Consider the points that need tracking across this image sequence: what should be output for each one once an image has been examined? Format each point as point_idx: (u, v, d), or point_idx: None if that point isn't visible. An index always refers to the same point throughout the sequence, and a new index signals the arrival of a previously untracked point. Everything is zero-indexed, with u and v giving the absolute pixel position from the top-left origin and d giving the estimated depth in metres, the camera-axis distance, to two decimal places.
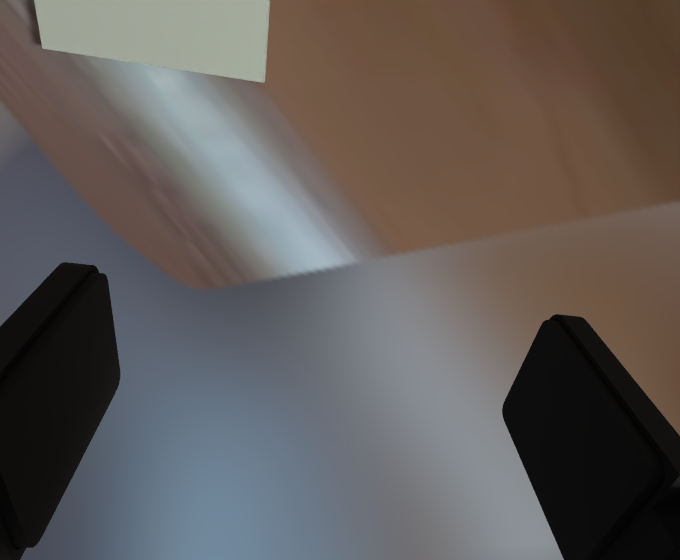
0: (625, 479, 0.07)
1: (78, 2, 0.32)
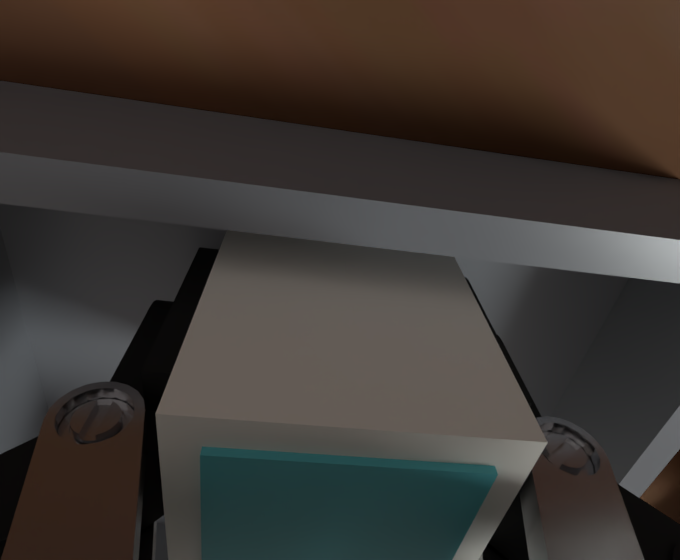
0: None
1: None
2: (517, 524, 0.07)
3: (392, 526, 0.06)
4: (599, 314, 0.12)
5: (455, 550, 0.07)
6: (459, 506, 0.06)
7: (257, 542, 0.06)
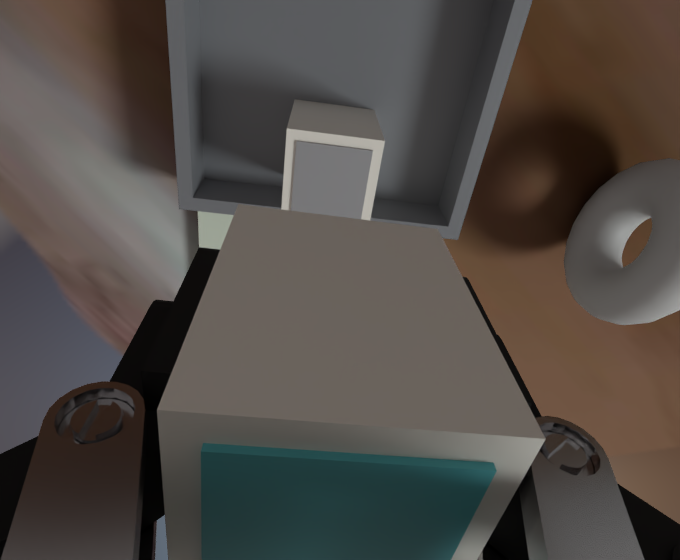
0: None
1: None
2: (517, 524, 0.07)
3: (392, 524, 0.06)
4: (485, 14, 0.24)
5: (454, 548, 0.07)
6: (458, 503, 0.06)
7: (257, 540, 0.06)
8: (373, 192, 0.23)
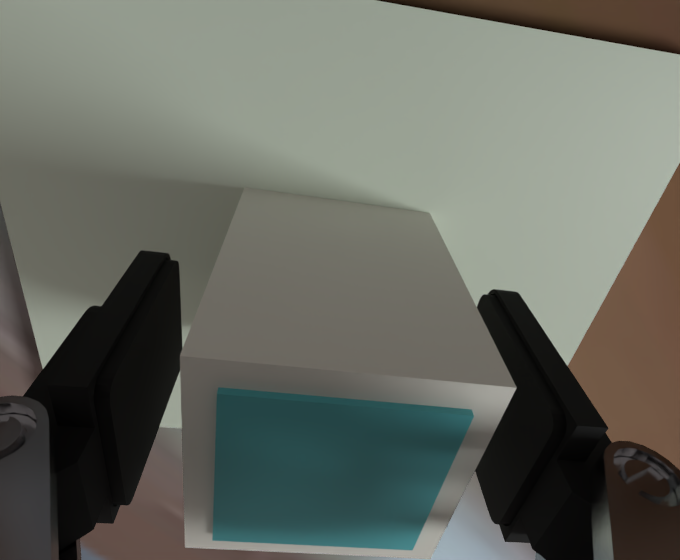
0: (535, 434, 0.08)
1: None
2: (593, 553, 0.07)
3: (382, 465, 0.07)
4: None
5: (438, 490, 0.07)
6: (441, 447, 0.07)
7: (263, 480, 0.07)
8: None
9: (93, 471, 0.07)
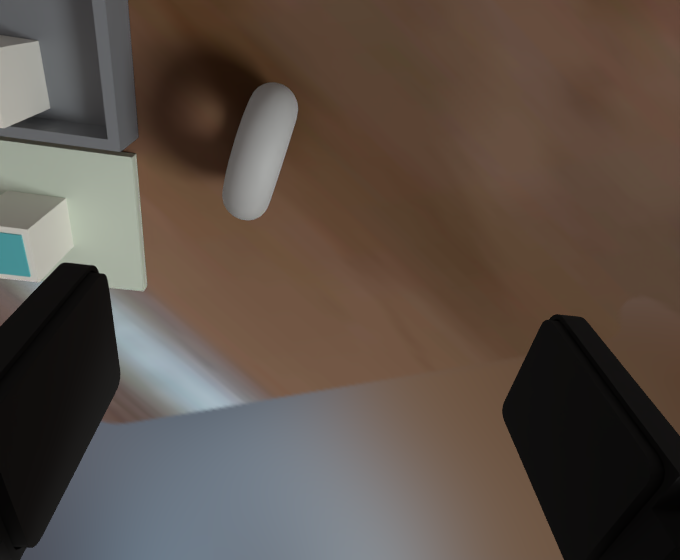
0: (625, 479, 0.07)
1: None
2: None
3: (8, 248, 0.34)
4: None
5: (25, 256, 0.34)
6: (18, 243, 0.34)
7: None
8: None
9: None
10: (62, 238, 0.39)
